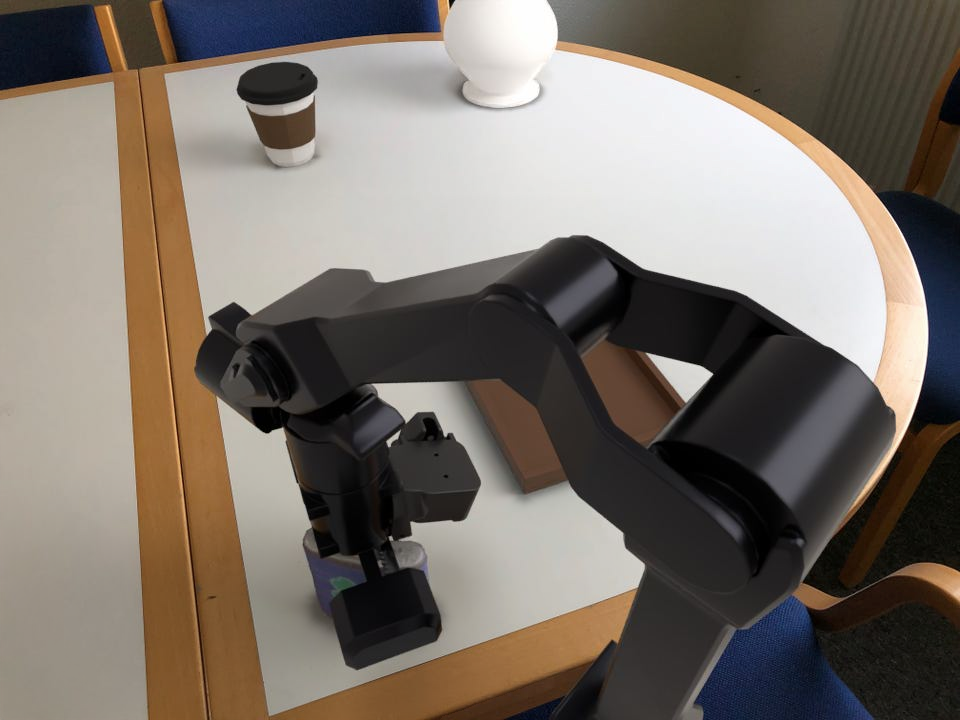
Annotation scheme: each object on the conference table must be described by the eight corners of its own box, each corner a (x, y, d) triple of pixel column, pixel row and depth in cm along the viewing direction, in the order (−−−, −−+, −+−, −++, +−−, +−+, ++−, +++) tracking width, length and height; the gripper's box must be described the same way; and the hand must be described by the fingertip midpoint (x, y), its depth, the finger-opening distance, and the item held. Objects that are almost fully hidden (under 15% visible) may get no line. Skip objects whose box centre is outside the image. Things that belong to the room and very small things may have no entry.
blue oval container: (438, 607, 62) (427, 527, 54) (428, 642, 60) (416, 563, 52) (326, 586, 63) (302, 505, 56) (313, 619, 61) (285, 540, 54)
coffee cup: (337, 139, 119) (324, 60, 111) (319, 177, 111) (304, 94, 103) (266, 137, 120) (249, 59, 112) (244, 174, 112) (223, 93, 104)
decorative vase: (557, 115, 123) (564, -62, 106) (442, 116, 124) (431, -60, 107) (554, 68, 136) (560, -96, 119) (450, 69, 137) (441, -94, 120)
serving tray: (697, 437, 74) (701, 422, 72) (524, 494, 70) (524, 479, 68) (584, 293, 90) (586, 278, 89) (438, 332, 86) (437, 317, 84)
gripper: (520, 534, 44) (518, 665, 55) (419, 333, 57) (433, 470, 68) (326, 601, 42) (363, 725, 52) (265, 374, 55) (305, 510, 65)
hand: (371, 592), depth 60 cm, fingers open, 8 cm apart
